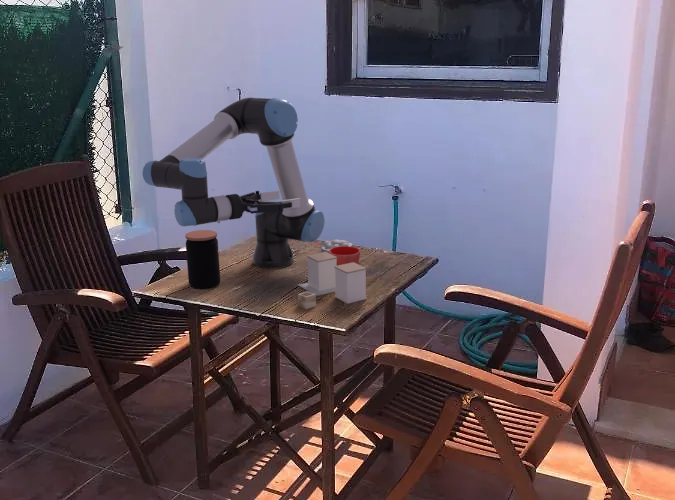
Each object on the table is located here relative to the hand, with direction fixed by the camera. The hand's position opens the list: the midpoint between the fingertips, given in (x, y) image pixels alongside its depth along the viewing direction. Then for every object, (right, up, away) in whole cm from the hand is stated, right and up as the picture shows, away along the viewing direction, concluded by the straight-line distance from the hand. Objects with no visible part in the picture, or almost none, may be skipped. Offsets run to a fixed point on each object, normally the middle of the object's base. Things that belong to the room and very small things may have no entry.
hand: (289, 198), depth 229 cm
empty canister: (+20, -32, +5) cm, 38 cm away
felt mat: (+10, -29, +15) cm, 34 cm away
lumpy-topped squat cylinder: (+15, -22, +39) cm, 47 cm away
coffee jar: (-30, -28, +19) cm, 46 cm away
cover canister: (+10, -28, +15) cm, 34 cm away
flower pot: (+18, -26, +25) cm, 40 cm away
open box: (+6, -34, -1) cm, 34 cm away
